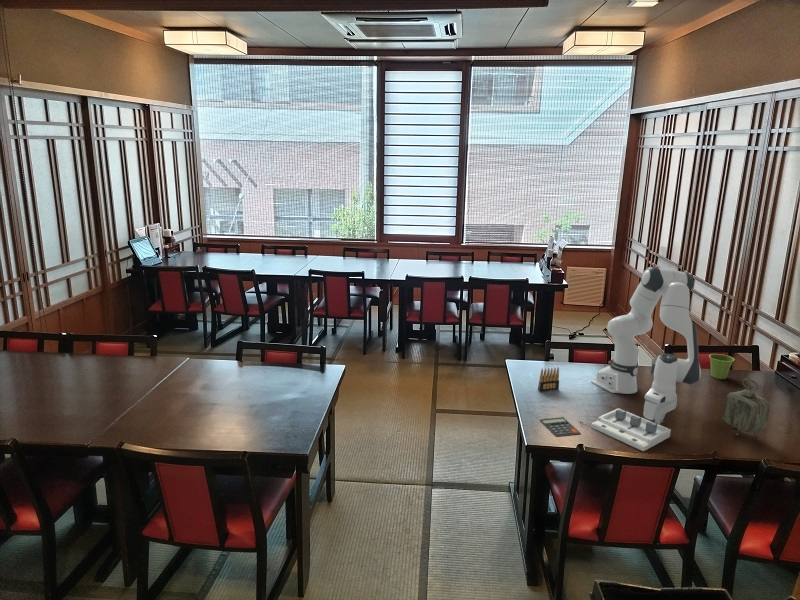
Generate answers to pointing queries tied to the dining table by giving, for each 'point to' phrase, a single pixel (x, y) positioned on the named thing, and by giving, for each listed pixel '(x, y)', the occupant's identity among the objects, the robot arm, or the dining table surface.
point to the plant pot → (720, 365)
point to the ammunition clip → (549, 380)
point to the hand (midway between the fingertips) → (658, 423)
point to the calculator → (559, 426)
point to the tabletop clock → (746, 410)
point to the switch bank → (630, 431)
